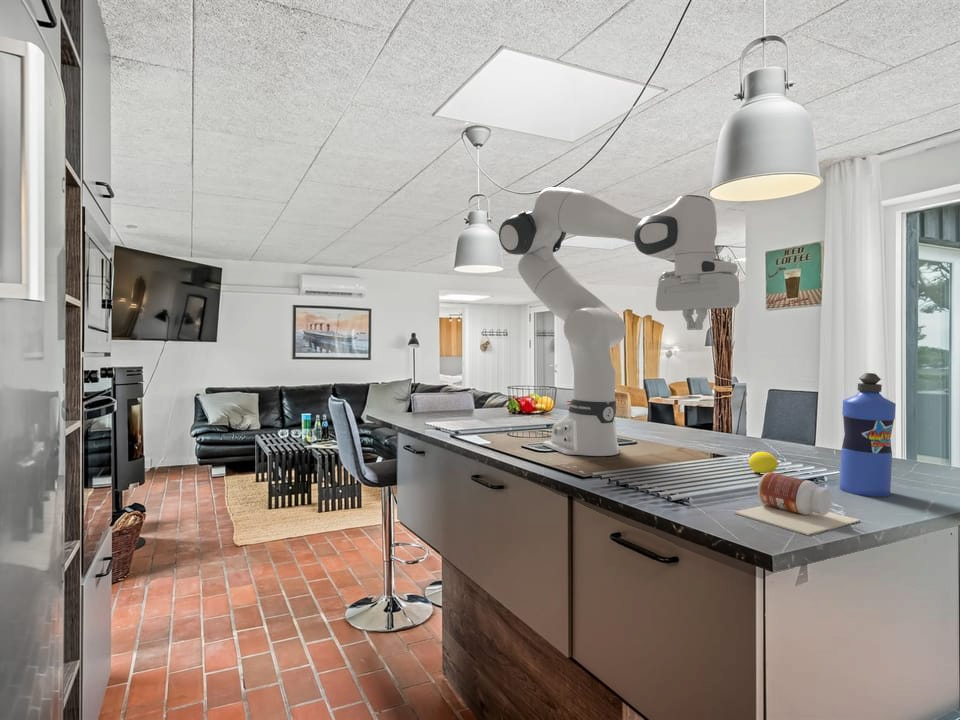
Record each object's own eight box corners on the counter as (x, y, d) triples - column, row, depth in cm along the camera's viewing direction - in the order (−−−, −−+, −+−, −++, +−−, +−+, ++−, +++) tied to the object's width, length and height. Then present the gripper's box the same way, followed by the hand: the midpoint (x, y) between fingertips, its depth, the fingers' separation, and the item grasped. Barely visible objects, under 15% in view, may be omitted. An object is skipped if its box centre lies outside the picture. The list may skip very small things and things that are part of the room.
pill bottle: (752, 497, 111) (813, 512, 102) (762, 466, 113) (823, 479, 104) (767, 508, 115) (828, 524, 105) (777, 479, 116) (837, 492, 107)
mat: (734, 513, 108) (734, 511, 108) (786, 502, 116) (786, 500, 116) (808, 535, 97) (808, 533, 97) (860, 521, 105) (860, 519, 105)
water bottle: (828, 485, 131) (834, 371, 130) (868, 485, 132) (874, 372, 131) (859, 497, 122) (865, 374, 121) (902, 497, 123) (908, 375, 122)
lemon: (744, 475, 142) (742, 452, 142) (755, 472, 145) (753, 450, 146) (773, 477, 137) (771, 453, 137) (784, 474, 140) (782, 450, 140)
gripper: (649, 272, 142) (649, 330, 142) (725, 262, 124) (724, 328, 125) (668, 273, 145) (667, 330, 146) (744, 264, 128) (743, 329, 128)
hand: (694, 329), depth 135 cm, fingers closed
